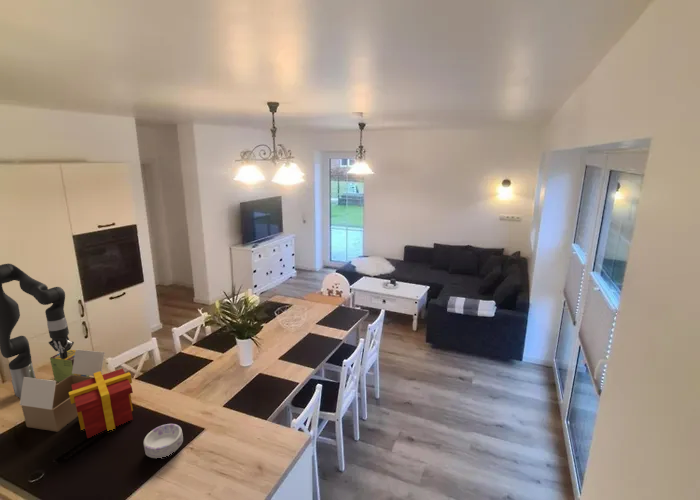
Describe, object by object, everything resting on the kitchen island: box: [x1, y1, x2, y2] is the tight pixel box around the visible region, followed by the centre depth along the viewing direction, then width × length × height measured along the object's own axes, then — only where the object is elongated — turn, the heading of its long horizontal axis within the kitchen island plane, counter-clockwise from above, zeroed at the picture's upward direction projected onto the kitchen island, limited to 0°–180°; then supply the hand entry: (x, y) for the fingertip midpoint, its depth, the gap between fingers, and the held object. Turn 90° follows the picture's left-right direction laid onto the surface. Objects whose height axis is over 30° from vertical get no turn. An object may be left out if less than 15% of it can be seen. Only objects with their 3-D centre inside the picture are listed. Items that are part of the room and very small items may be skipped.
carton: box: [20, 375, 94, 433], centre depth 186 cm, size 18×26×12 cm
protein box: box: [49, 349, 90, 383], centre depth 214 cm, size 10×15×16 cm
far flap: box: [72, 348, 106, 377], centre depth 198 cm, size 18×13×1 cm
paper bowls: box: [143, 423, 184, 459], centre depth 161 cm, size 15×15×8 cm
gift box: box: [69, 368, 134, 439], centre depth 179 cm, size 25×25×20 cm
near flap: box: [19, 377, 57, 409], centre depth 172 cm, size 18×13×1 cm
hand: (64, 358), depth 184 cm, fingers closed
